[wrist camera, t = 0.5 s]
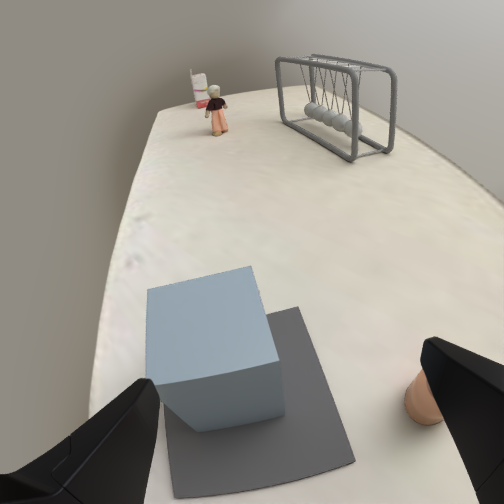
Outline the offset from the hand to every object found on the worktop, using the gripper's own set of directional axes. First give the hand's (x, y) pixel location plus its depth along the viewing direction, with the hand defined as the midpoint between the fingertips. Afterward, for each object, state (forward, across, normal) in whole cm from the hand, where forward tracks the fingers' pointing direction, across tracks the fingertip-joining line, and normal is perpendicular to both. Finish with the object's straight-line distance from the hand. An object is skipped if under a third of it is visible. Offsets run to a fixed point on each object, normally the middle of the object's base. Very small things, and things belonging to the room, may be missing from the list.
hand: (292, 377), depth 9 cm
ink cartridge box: (+103, +14, -27) cm, 107 cm away
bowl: (+8, -12, +14) cm, 20 cm away
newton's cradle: (+60, -18, -8) cm, 63 cm away
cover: (+12, +4, +11) cm, 17 cm away
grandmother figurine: (+70, +7, -13) cm, 72 cm away
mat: (+11, +4, +12) cm, 17 cm away
